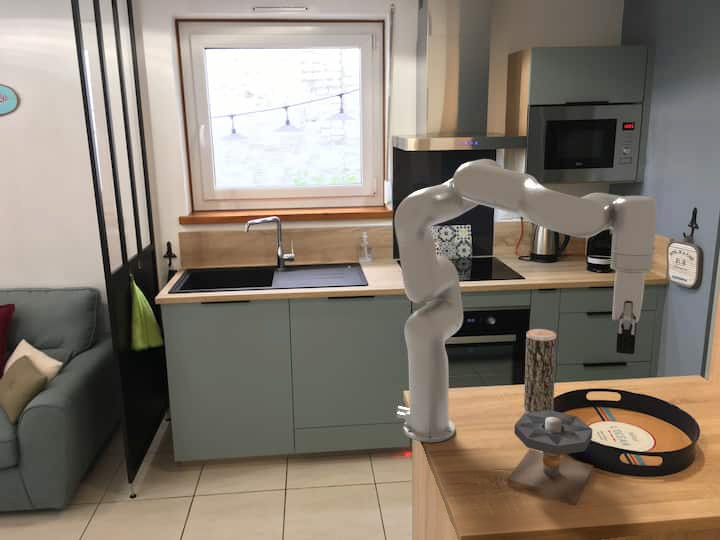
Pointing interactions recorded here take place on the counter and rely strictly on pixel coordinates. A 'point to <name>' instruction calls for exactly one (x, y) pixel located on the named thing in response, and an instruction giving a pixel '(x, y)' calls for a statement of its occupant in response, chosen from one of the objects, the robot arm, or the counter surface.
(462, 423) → the counter surface
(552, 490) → the pipe stand
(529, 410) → the bark-covered log
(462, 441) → the counter surface
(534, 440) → the grey octagonal disc
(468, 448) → the counter surface
